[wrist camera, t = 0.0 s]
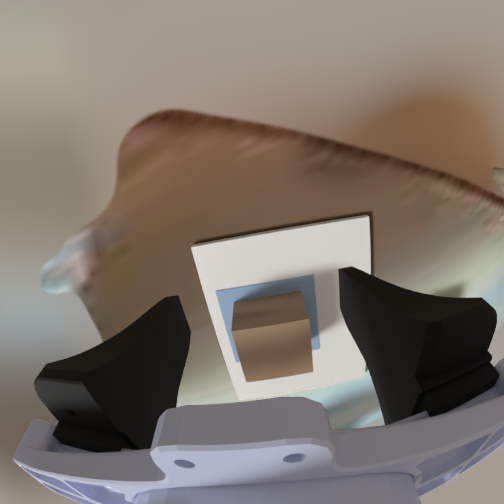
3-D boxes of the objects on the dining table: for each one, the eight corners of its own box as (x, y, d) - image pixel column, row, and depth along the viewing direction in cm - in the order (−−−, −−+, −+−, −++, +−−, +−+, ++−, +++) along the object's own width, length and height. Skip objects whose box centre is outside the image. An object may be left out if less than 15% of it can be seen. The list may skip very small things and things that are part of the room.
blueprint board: (362, 373, 28) (364, 377, 27) (239, 396, 28) (238, 400, 28) (366, 214, 21) (369, 216, 20) (192, 244, 22) (190, 247, 21)
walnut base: (305, 341, 25) (313, 371, 21) (246, 351, 25) (246, 382, 21) (300, 290, 23) (309, 318, 19) (233, 302, 23) (231, 331, 19)
